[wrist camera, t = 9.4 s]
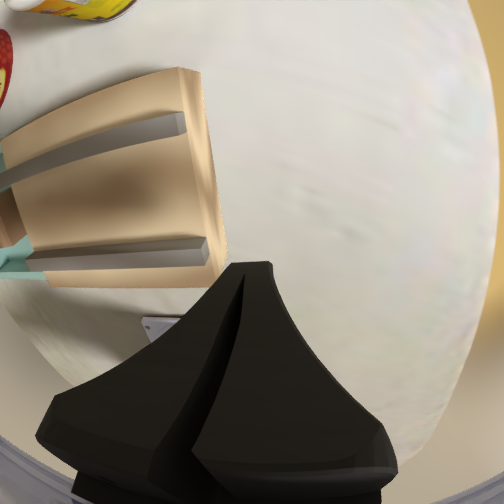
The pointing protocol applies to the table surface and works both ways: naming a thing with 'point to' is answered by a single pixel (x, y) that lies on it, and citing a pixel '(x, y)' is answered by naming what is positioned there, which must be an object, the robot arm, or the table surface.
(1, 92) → the canned food
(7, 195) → the brown block
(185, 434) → the robot arm
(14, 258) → the tray
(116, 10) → the supplement bottle
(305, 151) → the table surface
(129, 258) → the slot deck
